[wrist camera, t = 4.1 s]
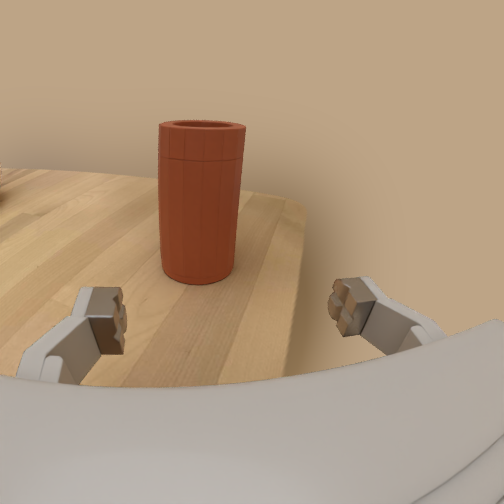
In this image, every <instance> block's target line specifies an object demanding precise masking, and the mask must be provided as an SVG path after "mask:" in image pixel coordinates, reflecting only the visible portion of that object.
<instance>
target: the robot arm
mask: <svg viewBox="0 0 504 504" xmlns="http://www.w3.org/2000/svg"><path fill="white" fill-rule="evenodd" d="M332 288H333V290H334V292H333V293H332V294H331V295H330V296H329V300H328V311H329V314H330V316H331V318H332V319H334V320H336V321H337V325H336V326H337V328H338V330H339V331H340V333H341V335H342V336H343V337H347V336H354V335H360V336H362V337H363V338H364V339H366V340H367V341H368V342H370V343H371V344H372V345H374V346H375V347H376V348H378V349H379V350H381V351H382V352H383V353H384V354H386V355H387V356H384V357H380V358H376V359H372V360H368V361H364V362H360V363H356V364H351V365H346V366H342V367H337V368H332V369H327V370H322V371H317V372H311V373H306V374H300V375H294V376H287V377H281V378H274V379H266V380H259V381H250V382H241V383H231V384H220V385H206V386H189V387H157V388H133V387H102V386H86V385H79V384H80V382H81V381H82V380H83V378H84V377H85V376H86V375H87V373H88V372H89V371H90V370H91V368H92V367H93V366H94V364H95V363H96V362H97V361H98V359H99V358H100V357H101V355H123V354H124V345H125V338H124V333H125V332H126V328H127V315H126V308H125V306H124V305H123V304H122V300H123V293H122V289H121V288H120V287H81V288H80V290H79V293H78V296H77V298H76V301H75V304H74V307H73V310H72V312H71V315H70V317H69V316H67V317H65V318H64V319H63V320H62V321H60V322H59V323H58V324H57V325H55V326H54V327H53V328H52V329H50V330H49V331H48V332H47V333H46V334H44V335H43V336H42V337H41V338H40V339H38V340H37V341H36V342H35V343H34V344H32V345H31V346H30V347H29V348H28V349H26V350H25V351H24V353H23V356H22V358H21V361H20V364H19V367H18V370H17V373H16V376H15V377H12V376H6V375H1V374H0V504H504V322H502V321H500V320H498V319H493V320H490V321H487V322H485V323H483V324H480V325H478V326H475V327H473V328H470V329H468V330H465V331H462V332H460V333H457V334H454V335H452V336H449V337H447V336H446V334H445V333H444V332H443V331H442V330H441V328H440V327H439V326H438V325H437V323H436V322H435V321H434V320H432V319H430V318H428V317H426V316H424V315H422V314H420V313H418V312H416V311H415V310H413V309H411V308H409V307H407V306H405V305H403V304H401V303H399V302H397V301H395V300H393V299H388V298H387V297H386V295H385V294H384V293H383V292H382V291H381V289H380V288H379V287H378V286H377V285H376V284H375V283H374V281H373V280H372V279H371V278H370V277H368V276H363V277H357V278H345V279H336V280H335V282H334V284H333V287H332Z"/></svg>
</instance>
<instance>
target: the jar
mask: <svg viewBox="0 0 504 504" xmlns="http://www.w3.org/2000/svg"><path fill="white" fill-rule="evenodd" d="M245 132H246V127H245V126H244V125H241V124H237V123H231V122H222V121H209V120H179V121H170V122H164V123H162V124H159V144H158V145H159V146H158V152H159V153H158V199H159V229H160V248H161V259H162V267H163V270H164V271H165V273H166V274H167V275H168V276H169V277H171V278H172V279H174V280H176V281H179V282H182V283H186V284H195V285H201V284H209V283H214V282H217V281H220V280H222V279H224V278H225V277H227V276H228V275H229V274H230V273H231V271H232V269H233V265H234V253H235V241H236V229H237V217H238V206H239V195H240V184H241V173H242V162H243V152H244V142H245Z"/></svg>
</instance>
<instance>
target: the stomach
mask: <svg viewBox="0 0 504 504" xmlns="http://www.w3.org/2000/svg"><path fill="white" fill-rule="evenodd" d="M1 180H2V170H1V162H0V187H1Z"/></svg>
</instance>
